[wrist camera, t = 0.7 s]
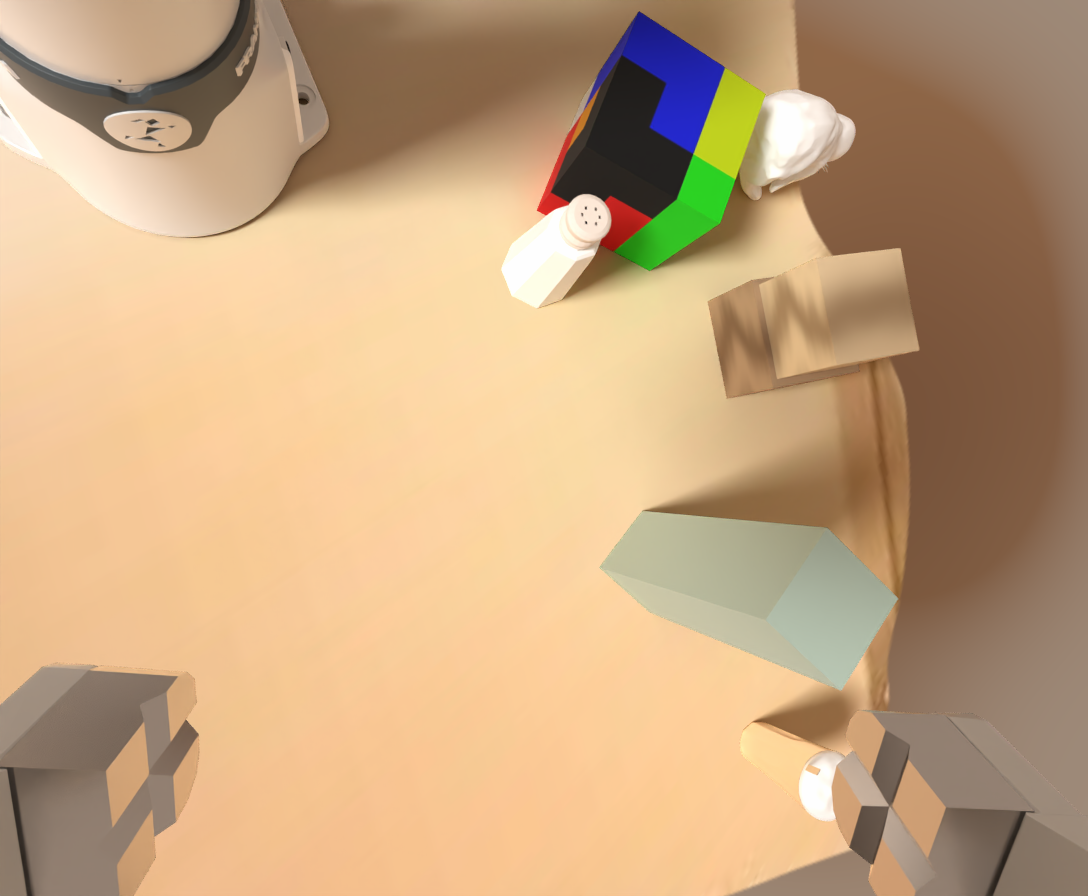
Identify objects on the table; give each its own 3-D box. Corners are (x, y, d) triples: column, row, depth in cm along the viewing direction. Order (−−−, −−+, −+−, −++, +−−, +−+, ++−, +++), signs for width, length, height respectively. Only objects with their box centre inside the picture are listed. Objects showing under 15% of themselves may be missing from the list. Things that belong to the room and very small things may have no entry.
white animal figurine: (774, 73, 46) (888, 59, 51) (700, 136, 54) (804, 119, 59) (801, 161, 46) (912, 139, 51) (723, 211, 54) (826, 188, 59)
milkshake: (746, 695, 53) (836, 741, 43) (790, 733, 54) (888, 787, 44) (714, 744, 52) (800, 803, 42) (760, 782, 53) (853, 847, 43)
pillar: (599, 567, 50) (765, 620, 31) (642, 510, 51) (827, 527, 32) (650, 612, 51) (841, 690, 32) (690, 556, 52) (897, 598, 33)
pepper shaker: (500, 306, 48) (547, 257, 38) (500, 233, 49) (546, 164, 38) (570, 311, 50) (634, 265, 39) (570, 240, 50) (632, 176, 40)
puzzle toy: (581, 98, 51) (638, 11, 42) (689, 162, 54) (765, 94, 44) (536, 210, 50) (584, 146, 40) (649, 271, 52) (720, 223, 43)
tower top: (758, 284, 48) (816, 257, 42) (835, 274, 50) (900, 248, 45) (776, 379, 48) (836, 365, 43) (852, 365, 50) (919, 350, 45)
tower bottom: (707, 301, 54) (751, 280, 48) (787, 290, 56) (839, 268, 50) (726, 398, 54) (773, 388, 48) (806, 382, 56) (859, 371, 51)
